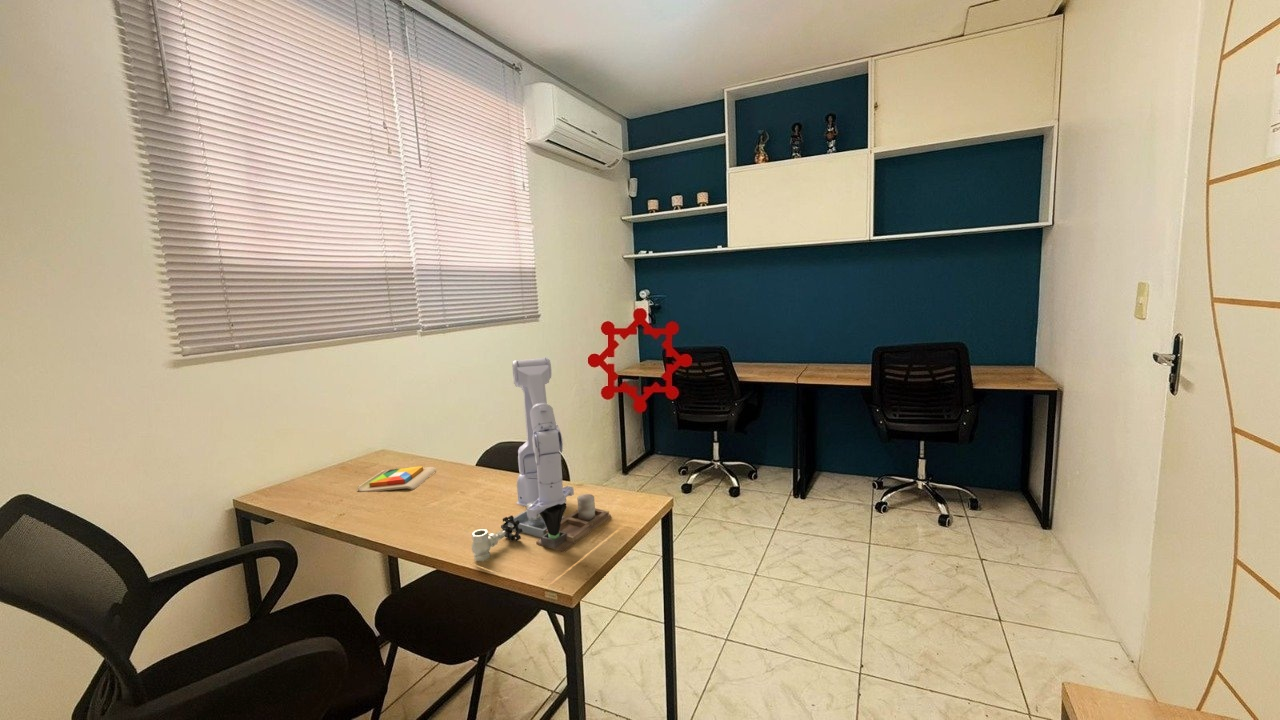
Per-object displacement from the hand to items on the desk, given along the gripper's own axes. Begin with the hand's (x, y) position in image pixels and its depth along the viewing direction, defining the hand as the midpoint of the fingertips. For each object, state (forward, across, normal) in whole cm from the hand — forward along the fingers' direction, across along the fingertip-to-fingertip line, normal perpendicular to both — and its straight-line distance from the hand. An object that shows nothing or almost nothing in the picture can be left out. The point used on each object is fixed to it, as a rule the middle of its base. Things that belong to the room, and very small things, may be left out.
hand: (553, 533), depth 116 cm
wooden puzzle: (+4, +10, +78) cm, 78 cm away
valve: (+3, -8, +11) cm, 14 cm away
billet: (+3, +5, +10) cm, 12 cm away
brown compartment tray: (+3, +8, 0) cm, 9 cm away
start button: (+2, 0, 0) cm, 2 cm away
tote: (+3, +5, +10) cm, 12 cm away
